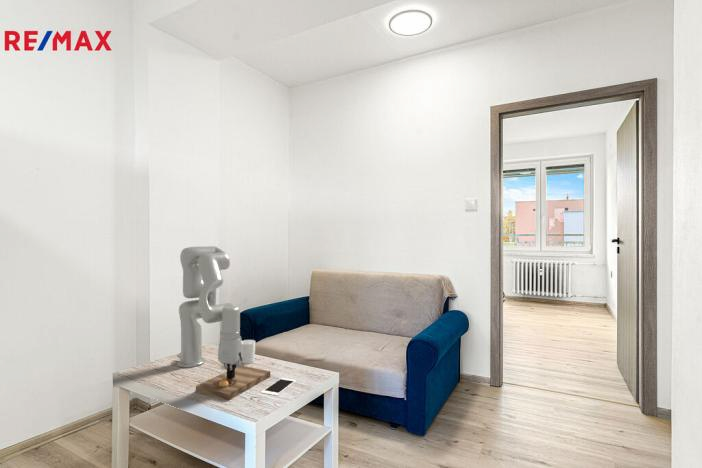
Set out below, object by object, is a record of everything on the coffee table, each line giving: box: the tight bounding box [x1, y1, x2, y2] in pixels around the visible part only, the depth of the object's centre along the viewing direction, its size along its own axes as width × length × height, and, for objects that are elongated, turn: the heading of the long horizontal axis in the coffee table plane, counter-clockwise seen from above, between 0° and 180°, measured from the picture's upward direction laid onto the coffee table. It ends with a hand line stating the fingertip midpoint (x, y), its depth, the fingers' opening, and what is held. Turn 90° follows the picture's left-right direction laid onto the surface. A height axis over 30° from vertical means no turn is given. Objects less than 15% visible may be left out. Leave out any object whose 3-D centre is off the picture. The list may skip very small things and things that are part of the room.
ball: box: [219, 380, 229, 386], centre depth 150 cm, size 4×4×4 cm
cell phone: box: [260, 377, 297, 396], centre depth 154 cm, size 8×16×1 cm, turn 159°
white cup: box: [241, 339, 256, 365], centre depth 184 cm, size 8×8×10 cm
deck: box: [195, 364, 271, 401], centre depth 156 cm, size 26×18×2 cm
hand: (230, 378), depth 154 cm, fingers closed
